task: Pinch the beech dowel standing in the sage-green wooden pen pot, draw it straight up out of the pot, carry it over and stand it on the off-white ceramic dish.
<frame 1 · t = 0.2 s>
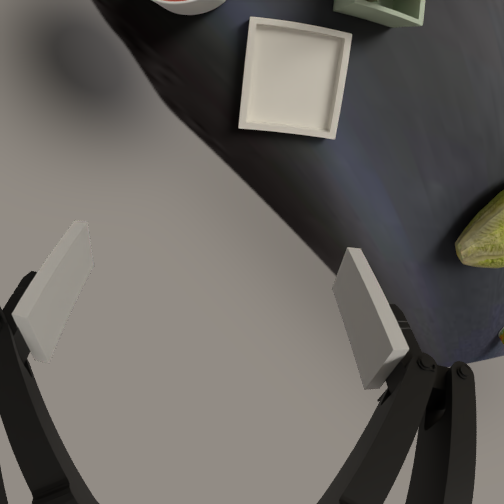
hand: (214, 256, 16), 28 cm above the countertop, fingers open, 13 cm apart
lettuce: (492, 210, 47), on the countertop
dish: (292, 76, 35), on the countertop
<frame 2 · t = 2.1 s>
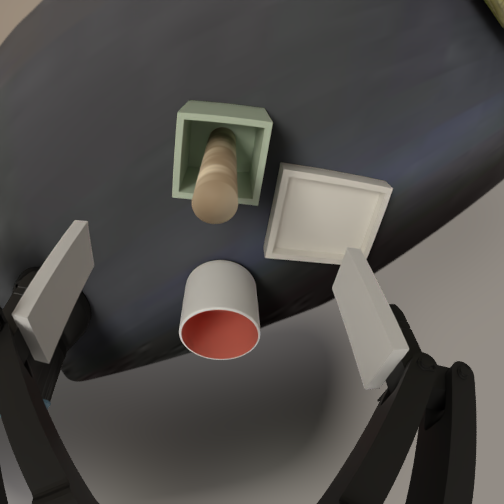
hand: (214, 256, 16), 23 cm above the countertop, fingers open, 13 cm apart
dowel: (222, 140, 34), point 1 cm above the countertop, touching pen pot
pen pot: (222, 138, 34), on the countertop
dish: (324, 214, 41), on the countertop
cup: (221, 282, 46), on the countertop
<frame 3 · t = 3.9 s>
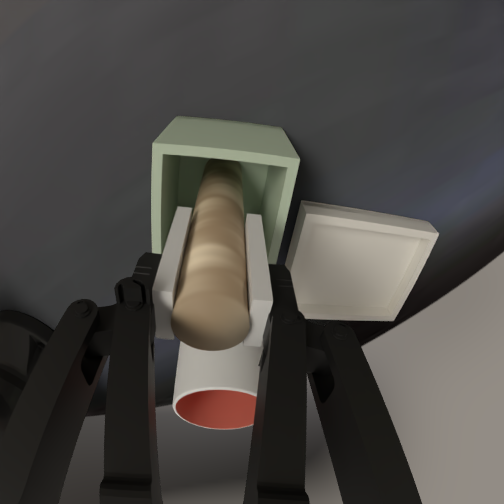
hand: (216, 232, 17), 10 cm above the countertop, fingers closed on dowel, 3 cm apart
dowel: (222, 171, 25), point 1 cm above the countertop, touching gripper, pen pot
pen pot: (223, 168, 26), on the countertop
dish: (352, 262, 32), on the countertop
cup: (222, 337, 38), on the countertop
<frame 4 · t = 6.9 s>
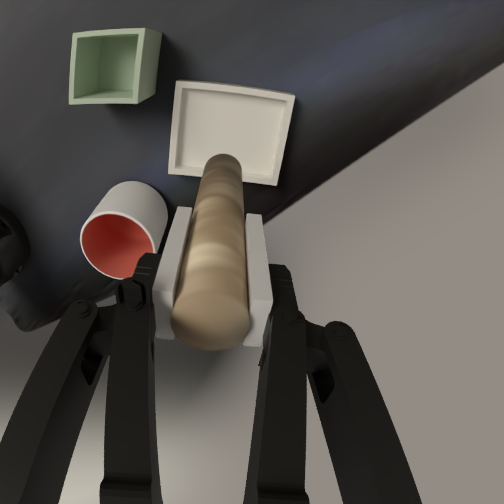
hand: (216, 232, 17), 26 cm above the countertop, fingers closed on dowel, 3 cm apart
dowel: (222, 171, 25), point 16 cm above the countertop, touching gripper
pen pot: (127, 63, 32), on the countertop
dish: (229, 129, 39), on the countertop
cup: (136, 208, 45), on the countertop
when the fingers open (11 cm above the countertop, at t = 9.8 s): dowel drops 1 cm, resting on dish.
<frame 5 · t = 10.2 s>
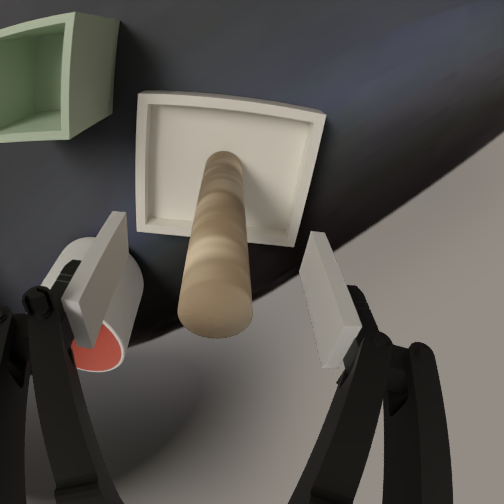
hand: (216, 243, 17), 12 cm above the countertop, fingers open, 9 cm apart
dowel: (223, 168, 26), point 1 cm above the countertop, touching dish
pen pot: (72, 69, 20), on the countertop
dish: (223, 164, 26), on the countertop
cup: (103, 269, 32), on the countertop
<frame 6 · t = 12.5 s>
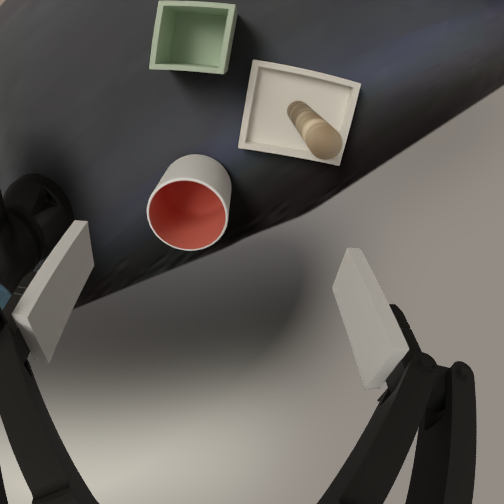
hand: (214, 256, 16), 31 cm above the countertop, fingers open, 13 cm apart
dowel: (298, 111, 39), point 1 cm above the countertop, touching dish
pen pot: (201, 39, 34), on the countertop
dish: (297, 110, 40), on the countertop
cup: (197, 183, 46), on the countertop
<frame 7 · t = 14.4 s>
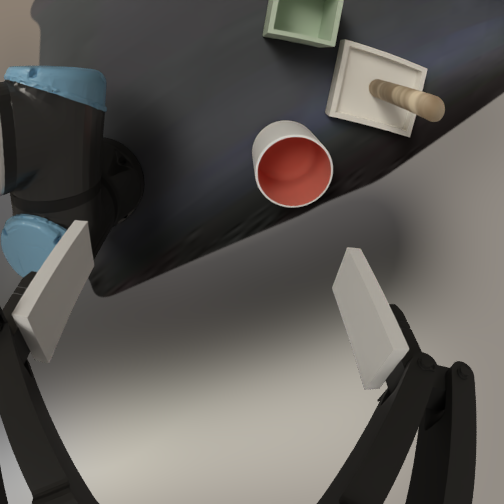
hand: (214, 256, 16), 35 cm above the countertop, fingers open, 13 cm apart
dowel: (377, 88, 41), point 1 cm above the countertop, touching dish
pen pot: (295, 16, 35), on the countertop
dish: (375, 87, 41), on the countertop
cup: (284, 149, 48), on the countertop
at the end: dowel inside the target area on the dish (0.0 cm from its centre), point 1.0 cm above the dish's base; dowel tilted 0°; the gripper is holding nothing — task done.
